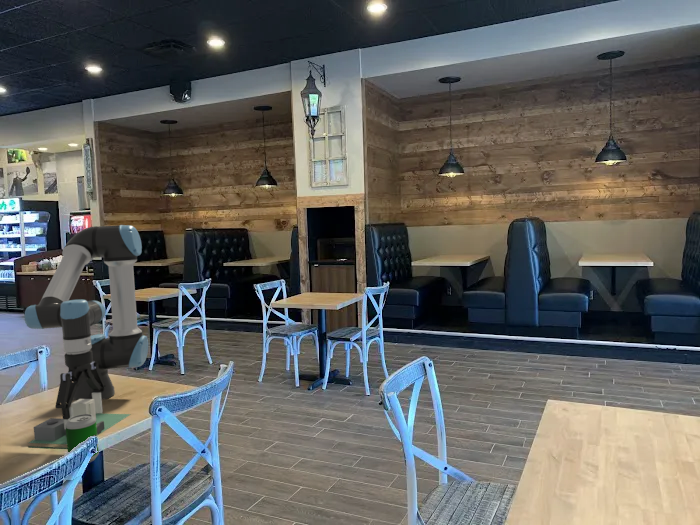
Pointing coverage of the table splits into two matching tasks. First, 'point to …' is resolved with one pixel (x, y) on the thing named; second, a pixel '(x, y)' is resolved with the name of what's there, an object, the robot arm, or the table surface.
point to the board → (56, 433)
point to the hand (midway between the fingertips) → (84, 420)
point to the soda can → (81, 431)
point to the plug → (84, 407)
